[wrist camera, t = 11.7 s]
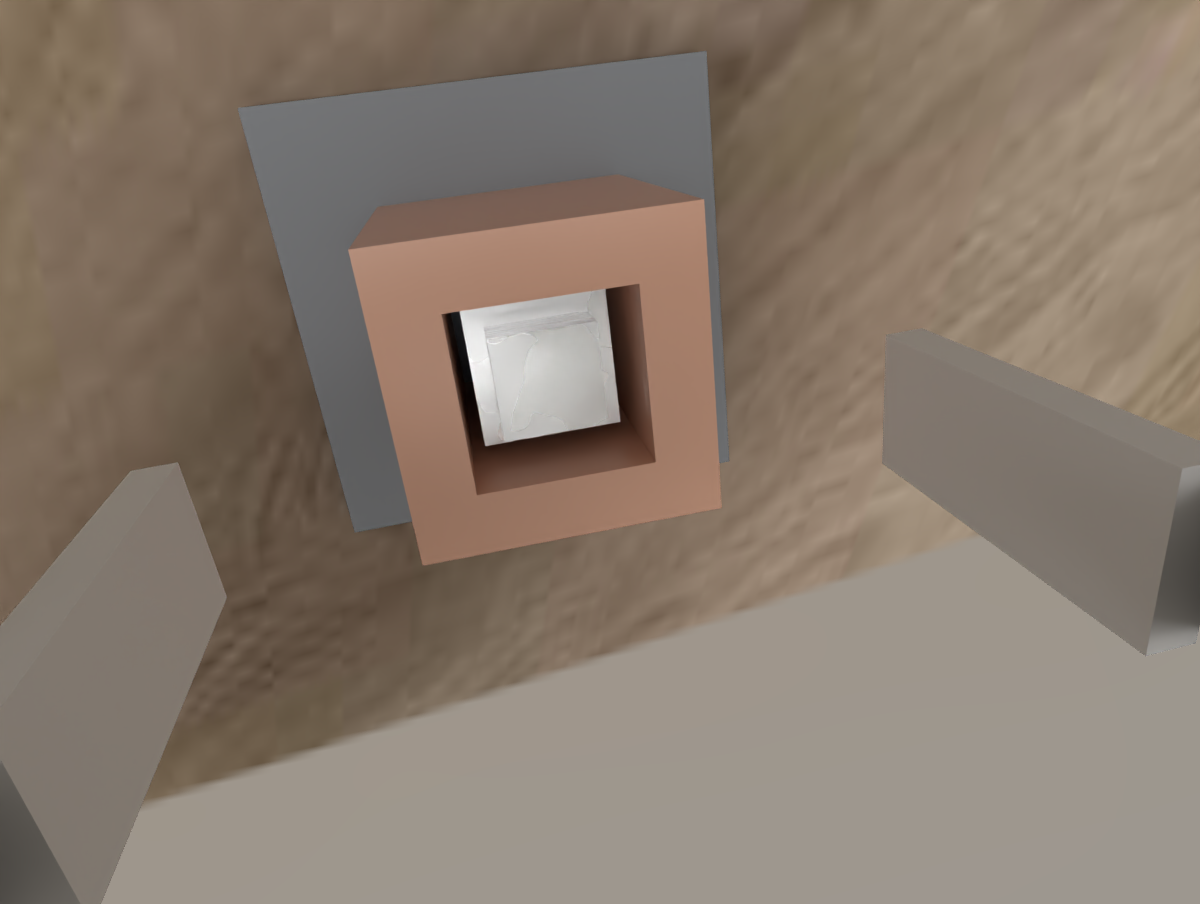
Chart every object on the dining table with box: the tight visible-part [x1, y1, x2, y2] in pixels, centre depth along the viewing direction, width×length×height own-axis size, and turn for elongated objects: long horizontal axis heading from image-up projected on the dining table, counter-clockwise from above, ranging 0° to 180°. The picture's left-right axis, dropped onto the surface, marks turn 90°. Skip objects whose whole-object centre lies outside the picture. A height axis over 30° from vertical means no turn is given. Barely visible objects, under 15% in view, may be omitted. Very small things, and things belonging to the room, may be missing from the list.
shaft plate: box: [238, 51, 729, 532], centre depth 27 cm, size 14×14×1 cm
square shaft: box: [460, 289, 620, 446], centre depth 23 cm, size 4×4×8 cm
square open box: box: [348, 174, 722, 566], centre depth 22 cm, size 8×8×9 cm
